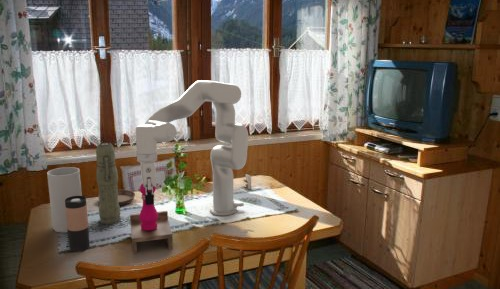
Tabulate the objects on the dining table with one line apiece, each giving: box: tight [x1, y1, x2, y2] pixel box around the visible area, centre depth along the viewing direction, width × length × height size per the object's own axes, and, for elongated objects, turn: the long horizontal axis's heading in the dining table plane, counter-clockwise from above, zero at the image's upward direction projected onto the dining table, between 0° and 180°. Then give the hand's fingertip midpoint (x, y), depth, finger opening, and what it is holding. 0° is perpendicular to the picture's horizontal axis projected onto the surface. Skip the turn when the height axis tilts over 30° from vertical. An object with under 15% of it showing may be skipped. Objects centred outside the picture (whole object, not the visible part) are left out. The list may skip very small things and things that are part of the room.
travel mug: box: [65, 195, 91, 253], centre depth 171 cm, size 8×8×20 cm
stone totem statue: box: [95, 142, 121, 225], centre depth 195 cm, size 9×12×35 cm
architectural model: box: [239, 173, 252, 190], centre depth 243 cm, size 3×7×7 cm, turn 30°
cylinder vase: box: [46, 166, 83, 234], centre depth 189 cm, size 12×12×25 cm
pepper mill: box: [139, 182, 158, 230], centre depth 174 cm, size 7×7×20 cm
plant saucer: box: [98, 189, 136, 206], centre depth 223 cm, size 18×18×3 cm
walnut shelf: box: [129, 210, 174, 254], centre depth 177 cm, size 15×17×9 cm
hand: (149, 201), depth 174 cm, fingers closed on pepper mill, 5 cm apart
